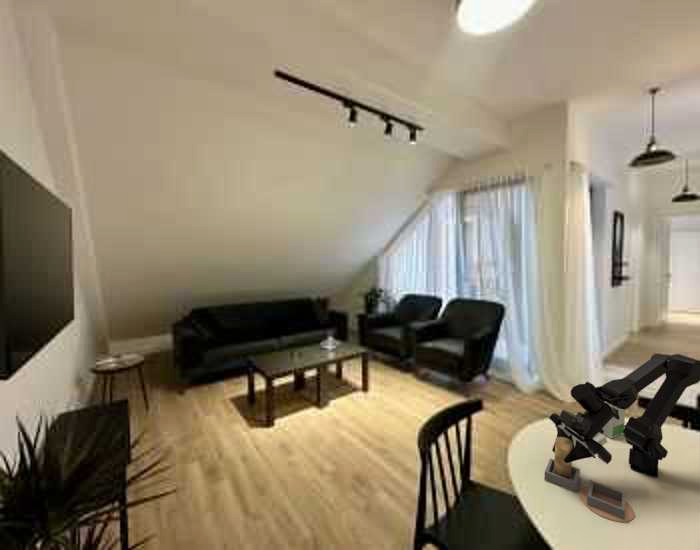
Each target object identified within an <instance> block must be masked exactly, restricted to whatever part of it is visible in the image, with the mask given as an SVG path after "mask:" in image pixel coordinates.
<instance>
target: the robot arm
mask: <svg viewBox="0 0 700 550" xmlns="http://www.w3.org/2000/svg"><path fill="white" fill-rule="evenodd" d="M663 375H665V379H664V380H663V382H662V384H661V385H660V387H659V388H658V389H657V391H656V393H655V394H654V396H653V397H652V399H651V400H650V402H649V404H648V405H647V407H646V409H645V410H644V412H642V415H641V416H638V417H633V416H631V417H629V418H628V420H627V422H626V423H625V424H624V430H623V433H624V434H623V435H624V438H625V442H626V444H628V445H630V446H631V447H629V452H628V453H629V454H628V464H629V465H630V467H629V469H631V470H632V471H635V472H638V473H642V474H644V475H647V476H651V477H653V478H659V461H663V459H666V457H667V455H668V453H669V451H668V450H667V449H666V448H665V447H664V445H662V440H663V438H664V437H663V432H662V431H663V430H662V426H663V425H664V423H665V422H666V420H667V418H668V417H669V416H670V414H671V412H672V410H673V409H674V408H675V407H676V404H677V403H678V401H679V399H680V398H681V397H682V395H683V393H684V392H685V390H686V389H687V388H689V387H691V386H693V385H696V384H698V383H699V382H700V359H696V358H693V357H690V356H687V355H683V354H680V353H675V354H666V353H663V354H662V353H654V354H652V356H651V357H650V359H648V360H647V361H645V362H644V363H643V364H641V365H640V366H638V367H637V368H635V369H634V370H633V371H632V372H630V373H628V374H627V375H626V376H625V377H622V378H619V379H612V380H609V381H608V382H606V383H604V384H602V385H600V386H595V385H594V384H593V383H591V382H589V381H586V382H585V383H579V384H576V385H574V386H572V388H571V389H570V396H571V397H572V399H573V400H575V402H577V404H579V406H580V407H581V408H583V410H585V411H584V412H581V411H579V412H577V413H576V414H575V413H573V412H570V411H567V410H565V409H562V410H561V411H560V414H558V413H554V412H553V413H552V414H551V415H550V416H549V417H548V420H550V421H551V422H552V423H553V424H554V427H555V428H556V431H557V432H556V433H557V434H556V437H555V439H556V438H557V437H564V438H567V439H569V440H571V441H573V440H572V439H571V438H570V437H569V436H570V434H572V435H573V436H574V437H576V438H577V439H578V440H580V441H581V442H582V443H580V442H579V441H577V440H576V445H575V447H574V448H573V450H572V451H571V452H570V453H569V454H568V455H567V456H566V458H565V459H564V461H565V462H566V463H569V462H572V463H573V462H576V461H579V460H584V459H589V458H593V459H596V458H597V457H598V459H600V460H601V461H602V462H604V463H605V464H606V465H609V464H610V463H611V461H612V458H613V456H612V453H610V451H608V449H606V448H605V446H603V445H601V444H599V443H598V442H596V441H595V440H594V439H593V438H594V437H595V436H596V435H597V434H598V433H601V434H603V433H604V431H603V430H602V428H603V427H604V426H605V425H606V424H607V423H608V422H609V421H610V420H611V419H612V418H613V417H614V418H616V419H617V420H619V419H620V418H619V414H618V410H617V409H615V408H613V407H611V406H610V405H609V404H611V405H613V406H615V407H617V408H619V409H623V410H625V411H626V410H627V409H629V408H631V406H633V404H634V403H636V401H637V400H638V397H639V393H640V392H642V390H644V389H646V388H647V387H648V386H651V385H650V384H652V383H654V382H655V381H657V380H658V379H659V378H661V377H662V376H663ZM604 401H605V402H607V403H609V404H607V403H605V402H604ZM581 436H582V437H581ZM552 452H553V453H554V454H555V442H554V444H553V447H552ZM596 455H597V456H596Z"/></svg>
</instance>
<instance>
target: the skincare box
mask: <svg viewBox="0 0 700 550" xmlns="http://www.w3.org/2000/svg"><path fill="white" fill-rule="evenodd" d="M604 402H605V401H604ZM605 403H607V402H605ZM607 404H609V403H607ZM609 405H610V406H611V407H613V408H615V409H617V410H618V414H619V418H620V419H619V420H617V419H616V418H614V417H613V418H612V419H611V420H610V421H609V422H608V423H607V424H606V425H605V426H604V427H603V428H602V430H603V431H604V433H603V435H604V436H605V437H606V438H609V437H610V438H609V439H614V438H616V437H615V436H617V437H618V435H619V436H621V435H620V434H622V433H623V430H624V428H625V427H624V425H625V424H626V422H625V420H626V419H625V417H626V416H625V415H626V409H625V410H623V409H619V408H617V407H615V406H613V405H611V404H609ZM622 435H623V434H622ZM613 437H614V438H613Z"/></svg>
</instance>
